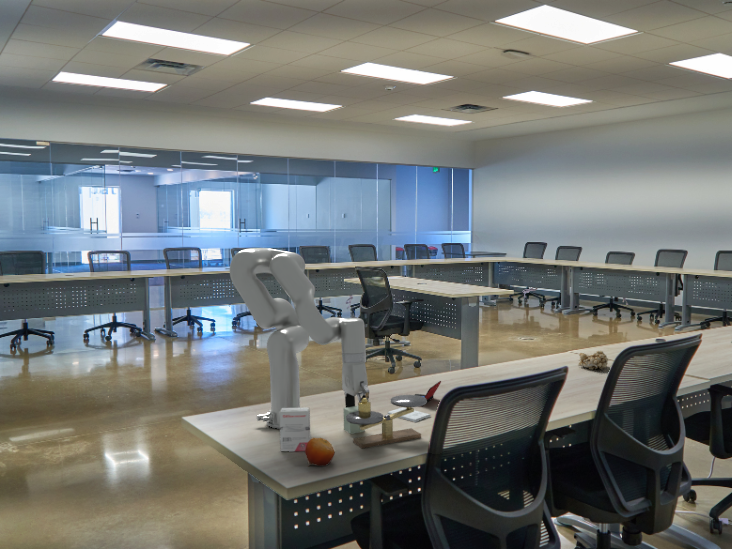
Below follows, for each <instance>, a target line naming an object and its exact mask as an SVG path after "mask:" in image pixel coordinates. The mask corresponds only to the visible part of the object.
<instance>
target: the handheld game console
mask: <svg viewBox="0 0 732 549" xmlns="http://www.w3.org/2000/svg"><path fill="white" fill-rule="evenodd" d="M441 383H442V381H441V380H439V381H438V382H436V383H435V384H433V385H432V386H431V387H429V389H428V391H427V392H426V394H421V393H415V394H414V395H418V396H422V397H425V398H426V399H427V401H428V402H430V401H431V400H433V399H434V395H435V393H436V392H437V390H438V389H439V386H440V385H441ZM432 398H433V399H432ZM430 399H431V400H430ZM429 400H430V401H429Z"/></svg>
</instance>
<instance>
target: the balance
mask: <svg viewBox="0 0 732 549" xmlns="http://www.w3.org/2000/svg"><path fill="white" fill-rule="evenodd" d="M368 400H369V399H368ZM368 400H367V399H366V398H363V399H362V400H361V401H362V402H359V401H358V402H357V406H359V411H357V412H352V413H349V414H348V415H347V416H346V420H347V421H348V422H349V423H352V424H358V425H360V426H359V427H360V429H361V430H365V431H366V430H368V429H370V428H372V427H375V426H378V425H381V433H378V434H372V435H371V434H370V435H365V436H360V437H354V438H352V441H353V442H352V443H354V444H355V445H356V446H357V447H359V448H360V449H368V448H372V447H373V448H374V447H379V446H382V445H383V444H384V445H389V444H388V443H390V444H394V442H395V443H399V442H405V441H410V440H415V439H416V438H417V439H420V438H421V439H422V433H420V432H419V431H417V430H415V429H413V428H412V427H411V428H405V429H399V430H393V429H394V424H393V422H394V420H395V419H397V418H398V417H401V416H403V415H406V414H409V413H412V412H414V410H415V409H414V408H416V407H417V408H418V407H420V406H422V407H423V406H425V405H427V403H428V402H427V399H426V398H425V397H422V396H418V395H415V394H400V395H396V396H392V397H391V398H390V404H392V405H393V406H396V407H398V408H402V407H403V408H406V409H405V410H402V411H399V412H396V413H393V414H391V415H388V414H385V415H384V414H383V413H380V412H379V411H373V410H371V409H372V407H371V404H372V403H371V401H368Z"/></svg>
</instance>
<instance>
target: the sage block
mask: <svg viewBox="0 0 732 549" xmlns="http://www.w3.org/2000/svg"><path fill="white" fill-rule="evenodd" d="M357 411H358V405H355V406H353V407H347V408H346V407H343V430H344V431H345V432H347V433H349V435H352V434H359V433H364V432H366V429H365V430H361V429H360V427H359V426H360V425H358V424H352V423H349V422H348V421H347V420H346V416H347V415H348V414H349V413H352V412H357Z"/></svg>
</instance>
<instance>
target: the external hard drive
mask: <svg viewBox="0 0 732 549" xmlns="http://www.w3.org/2000/svg"><path fill="white" fill-rule="evenodd" d="M405 409H406V407H398V408H396V409H393V410H390V411H387V415H388V414H389V415H391V414H393V413H396V412H399V411H402V410H405ZM430 416H432V414H431V413H426V412H423V411H422V412H421V411H419V410H415V409H414V412H412V413H409V414H406V415H403V416H401V417H399V419H401V418H403V419H402V420H405V419H406V420H405V421H409V420H410V421H409V422H412V421H413V422H412V423H418V422H420V421H422V420H425V419H424V418H426V419H429V418H431V417H430ZM428 417H429V418H428ZM419 420H420V421H419Z"/></svg>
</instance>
